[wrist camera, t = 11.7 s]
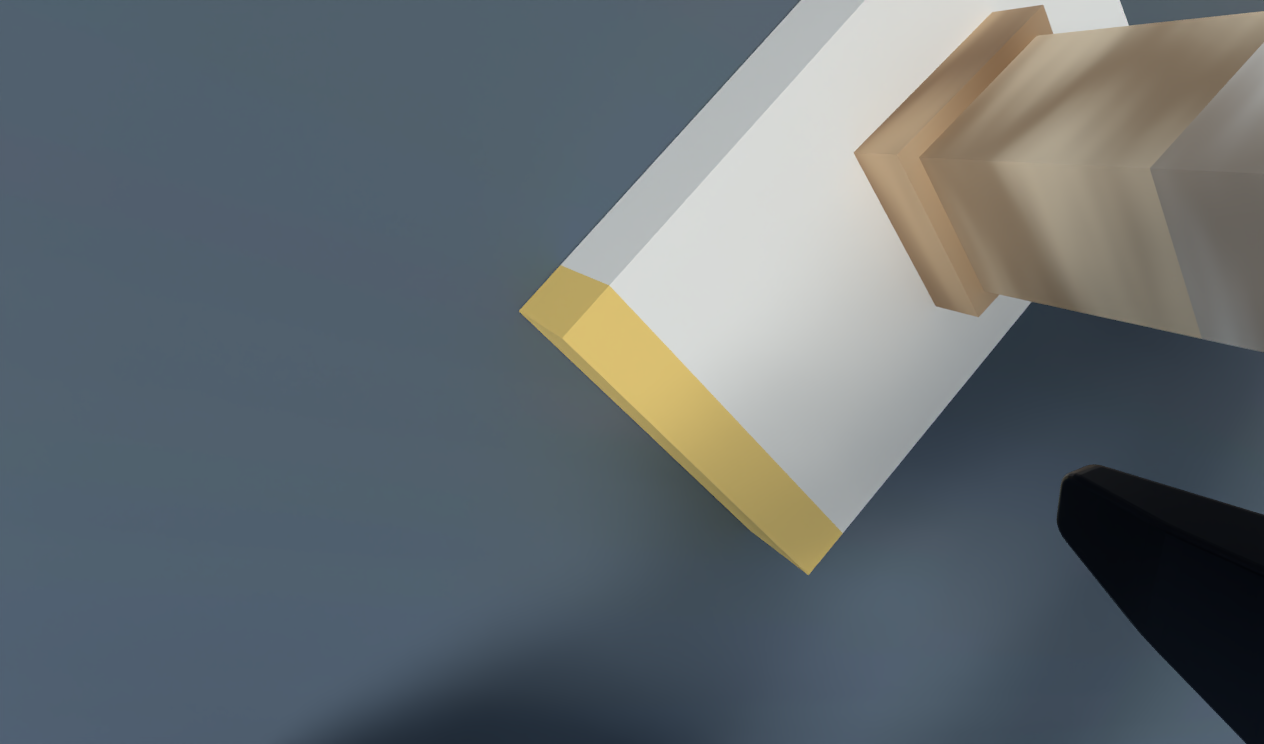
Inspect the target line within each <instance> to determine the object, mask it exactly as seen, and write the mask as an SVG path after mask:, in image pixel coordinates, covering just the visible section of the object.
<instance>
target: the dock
mask: <svg viewBox="0 0 1264 744" xmlns="http://www.w3.org/2000/svg"><path fill="white" fill-rule="evenodd" d="M1038 5H1044V8H1045V11H1046V14H1047V17H1048V20H1049V23H1050V25H1051V28H1052V31H1053V34H1057V33H1067V32H1076V31H1085V30H1095V29H1104V28H1113V27H1122V26H1129V25H1128V22H1127V20H1126V17H1125V14H1124V11H1123V8H1122V6H1121V3H1120V0H801V1H800V2H799V3H798V4H797V5H796V6H795V8H794V9H793V10H792V11H791V12H790V13H789V14H788V15H787V16H786V17H785V19H784V20H783V21H782V22H781V23H780V24H779V25H778V26H777V27H776V28H775V30H774V31H773V32H772V33H771V34H770V35H769V36H768V37H767V38H766V39H765V41H764V42H763V43H762V44H761V45H760V46H759V47H758V48H757V49H756V50H755V52H754V53H753V54H752V55H751V56H750V57H749V58H748V59H747V60H746V61H745V63H744V64H743V65H742V66H741V67H740V68H739V69H738V70H737V71H736V72H735V74H734V75H733V76H732V77H731V78H730V79H729V80H728V81H727V82H726V83H725V85H724V86H723V87H722V88H721V89H720V90H719V91H718V92H717V93H716V94H715V96H714V97H713V98H712V99H711V100H710V101H709V102H708V103H707V104H706V106H705V107H704V108H703V109H702V110H701V111H700V112H699V113H698V114H697V115H696V117H695V118H694V119H693V120H692V121H691V122H690V123H689V124H688V125H687V126H686V128H685V129H684V130H683V131H682V132H681V133H680V134H679V135H678V136H677V137H676V139H675V140H674V141H673V142H672V143H671V144H670V145H669V146H668V147H667V148H666V150H665V151H664V152H663V153H662V154H661V155H660V156H659V157H658V158H657V159H656V161H655V162H654V163H653V164H652V165H651V166H650V167H649V168H648V169H647V170H646V172H645V173H644V174H643V175H642V176H641V177H640V178H639V179H638V180H637V181H636V183H635V184H634V185H633V186H632V187H631V188H630V189H629V190H628V191H627V192H626V194H625V195H624V196H623V197H622V198H621V199H620V200H619V201H618V202H617V204H616V205H615V206H614V207H613V208H612V209H611V210H610V211H609V212H608V213H607V215H606V216H605V217H604V218H603V219H602V220H601V221H600V222H599V223H598V224H597V226H596V227H595V228H594V229H593V230H592V231H591V232H590V233H589V234H588V235H587V237H586V238H585V239H584V240H583V241H582V242H581V243H580V244H579V245H578V246H577V248H576V249H575V250H574V251H573V252H572V253H571V254H570V255H569V256H568V257H567V259H566V260H565V261H564V262H563V263H562V264H561V265H560V266H559V267H558V268H557V270H556V271H555V272H554V273H553V274H552V275H551V276H550V277H549V278H548V279H547V281H546V282H545V283H544V284H543V285H542V286H541V287H540V288H539V289H538V291H537V292H536V293H535V294H534V295H533V296H532V297H531V298H530V299H529V300H528V302H527V303H526V304H525V305H524V306H523V307H522V308H521V309H520V310H519V312H520V313H521V314H522V315H523V316H524V317H525V318H526V319H528V320H529V321H530V322H531V323H532V324H533V325H534V326H535V327H536V328H537V329H538V330H539V331H540V332H541V333H542V334H543V335H544V336H545V337H547V338H548V339H549V340H550V341H551V342H552V343H553V344H554V345H555V346H556V347H557V348H558V349H559V350H560V351H561V352H562V353H563V354H564V355H566V356H567V357H568V358H569V359H570V360H571V361H572V362H573V363H574V364H575V365H576V366H577V367H578V368H579V369H580V370H581V371H582V372H583V373H584V374H586V375H587V376H588V377H589V378H590V379H591V380H592V381H593V382H594V383H595V384H596V385H597V386H598V387H599V388H600V389H601V390H602V391H603V392H605V393H606V394H607V395H608V396H609V397H610V398H611V399H612V400H613V401H614V402H615V403H616V404H617V405H618V406H619V407H620V408H621V409H622V410H624V411H625V412H626V413H627V414H628V415H629V416H630V417H631V418H632V419H633V420H634V421H635V422H636V423H637V424H638V425H639V426H640V427H641V428H642V429H644V430H645V431H646V432H647V433H648V434H649V435H650V436H651V437H652V438H653V439H654V440H655V441H656V442H657V443H658V444H659V445H660V446H661V447H663V448H664V449H665V450H666V451H667V452H668V453H669V454H670V455H671V456H672V457H673V458H674V459H675V460H676V461H677V462H678V463H679V464H680V465H682V466H683V467H684V468H685V469H686V470H687V471H688V472H689V473H690V474H691V475H692V476H693V477H694V478H695V479H696V480H697V481H698V482H699V483H700V484H702V485H703V486H704V487H705V488H706V489H707V490H708V491H709V492H710V493H711V494H712V495H713V496H714V497H715V498H716V499H717V500H718V501H719V502H721V503H722V504H723V505H724V506H725V507H726V508H727V509H728V510H729V511H730V512H731V513H732V514H733V515H734V516H735V517H736V518H737V519H738V520H740V521H741V522H742V523H743V524H744V525H745V526H746V527H747V528H748V529H749V530H750V531H751V532H753V533H754V534H755V535H757V536H758V537H759V538H761V539H762V540H763V541H764V542H766V543H767V544H768V545H770V546H771V547H772V548H774V549H775V550H776V551H777V552H779V553H780V554H781V555H783V556H784V557H785V558H787V559H788V560H789V561H791V562H792V563H793V564H794V565H796V566H797V567H798V568H800V569H801V570H802V571H804V572H805V573H806V574H808V575H809V574H810V573H811V571H812V570H813V569H814V568H815V567H816V565H817V564H818V563H819V562H820V560H821V559H822V558H823V557H824V556H825V554H826V553H827V552H828V551H829V549H830V548H831V547H832V546H833V545H834V543H835V542H836V541H837V540H838V538H839V537H840V536H841V535H842V534H843V532H844V531H845V530H846V529H847V527H848V526H849V525H850V524H851V522H852V521H853V520H854V519H855V518H856V516H857V515H858V514H859V513H860V511H861V510H862V509H863V508H864V507H865V505H866V504H867V503H868V502H869V500H870V499H871V498H872V497H873V496H874V494H875V493H876V492H877V491H878V489H879V488H880V487H881V486H882V485H883V483H884V482H885V481H886V480H887V478H888V477H889V476H890V475H891V473H892V472H893V471H894V470H895V469H896V467H897V466H898V465H899V464H900V462H901V461H902V460H903V459H904V458H905V456H906V455H907V454H908V453H909V451H910V450H911V449H912V448H913V447H914V445H915V444H916V443H917V442H918V440H919V439H920V438H921V437H922V435H923V434H924V433H925V432H926V431H927V429H928V428H929V427H930V426H931V424H932V423H933V422H934V421H935V420H936V418H937V417H938V416H939V415H940V413H941V412H942V411H943V410H944V409H945V407H946V406H947V405H948V404H949V402H950V401H951V400H952V399H953V398H954V396H955V395H956V394H957V393H958V391H959V390H960V389H961V388H962V386H963V385H964V384H965V383H966V382H967V380H968V379H969V378H970V377H971V375H972V374H973V373H974V372H975V371H976V369H977V368H978V367H979V366H980V364H981V363H982V362H983V361H984V360H985V358H986V357H987V356H988V355H989V353H990V352H991V351H992V350H993V349H994V347H995V346H996V345H997V344H998V342H999V341H1000V340H1001V339H1002V337H1003V336H1004V335H1005V334H1006V333H1007V331H1008V330H1009V329H1010V328H1011V326H1012V325H1013V324H1014V323H1015V322H1016V320H1017V319H1018V318H1019V317H1020V315H1021V314H1022V313H1023V312H1024V311H1025V309H1026V308H1027V307H1028V306H1029V304H1030V303H1031V301H1026V300H1022V299H1017V298H1013V297H1008V296H1004V295H999V296H998V297H997V298H996V299H995V300H994V301H993V302H992V303H991V304H990V305H989V307H988V308H987V309H986V310H985V311H984V312H983V313H982V314H981V315H980V316H979V317H976V316H972V315H968V314H964V313H960V312H956V311H952V310H948V309H944V308H940V307H936V306H935V304H934V302H933V300H932V298H931V297H930V295H929V293H928V291H927V289H926V287H925V285H924V283H923V282H922V280H921V278H920V276H919V274H918V272H917V270H916V269H915V267H914V265H913V263H912V261H911V259H910V257H909V255H908V254H907V252H906V250H905V248H904V246H903V244H902V242H901V241H900V239H899V237H898V235H897V233H896V231H895V229H894V227H893V226H892V224H891V222H890V220H889V218H888V216H887V214H886V213H885V211H884V209H883V207H882V205H881V203H880V201H879V199H878V198H877V196H876V194H875V192H874V190H873V188H872V186H871V185H870V183H869V181H868V179H867V177H866V175H865V173H864V171H863V170H862V168H861V166H860V164H859V162H858V160H857V158H856V157H855V155H854V152H855V151H856V150H857V148H858V147H859V146H860V145H861V144H862V143H863V142H864V141H865V140H866V139H867V138H868V137H869V136H870V135H871V134H872V133H873V132H874V131H875V130H876V129H877V128H878V127H879V126H880V125H881V124H882V123H883V122H884V121H885V120H886V119H887V118H888V117H889V116H890V115H891V114H892V113H893V112H894V111H895V110H896V109H897V108H898V107H899V106H900V105H901V104H902V103H903V102H904V101H905V100H906V99H907V98H908V97H909V96H910V95H911V94H912V93H913V92H914V91H915V90H916V89H917V88H918V87H919V86H920V85H921V84H922V83H923V82H924V81H925V80H926V79H927V78H928V77H929V76H930V75H931V74H932V73H933V72H934V71H935V70H936V69H937V68H938V67H939V66H940V65H941V63H942V62H943V61H944V60H945V59H946V58H947V57H948V56H949V55H950V54H951V53H952V52H953V51H954V50H955V49H956V48H957V47H958V46H959V45H960V44H961V43H962V42H963V41H964V40H965V39H966V38H967V37H968V36H969V35H970V34H971V33H972V32H973V31H974V30H975V29H976V28H977V27H978V26H979V25H980V24H981V23H982V22H983V21H984V20H985V19H986V18H987V17H988V16H989V15H990V14H991V13H992V12H996V11H1003V10H1010V9H1017V8H1024V7H1031V6H1038Z"/></svg>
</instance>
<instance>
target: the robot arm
mask: <svg viewBox="0 0 1264 744" xmlns="http://www.w3.org/2000/svg"><path fill="white" fill-rule="evenodd" d="M1057 525H1058V528H1059V531H1060V533H1061V535H1062V537H1063V538H1064V539H1065V541H1066V542H1067V543H1068V545H1069V546H1070V547H1071V548H1072V550H1073V551H1074V552H1075V553H1076V555H1077V556H1078V557H1079V558H1080V560H1081V561H1082V562H1083V563H1084V565H1085V566H1086V567H1087V568H1088V570H1089V571H1090V572H1091V573H1092V575H1093V576H1094V577H1095V578H1096V579H1097V581H1098V582H1099V583H1100V584H1101V586H1102V587H1103V588H1104V589H1105V591H1106V592H1107V593H1108V594H1109V596H1110V597H1111V598H1112V599H1113V601H1114V602H1115V603H1116V604H1117V606H1118V607H1119V608H1120V609H1121V611H1122V612H1123V613H1124V614H1125V616H1126V617H1127V618H1128V619H1129V621H1130V622H1131V623H1132V624H1133V625H1134V626H1135V628H1136V629H1137V630H1138V631H1139V632H1140V634H1141V635H1142V636H1143V637H1144V638H1145V639H1146V640H1147V641H1148V642H1149V643H1150V644H1151V646H1152V647H1153V648H1154V649H1155V650H1156V651H1157V652H1158V653H1159V654H1160V655H1161V656H1162V657H1163V658H1164V659H1165V660H1166V661H1167V662H1168V663H1169V664H1170V665H1171V666H1172V667H1173V669H1174V670H1175V671H1176V672H1177V673H1178V674H1179V675H1180V676H1181V677H1182V678H1183V679H1184V680H1185V681H1186V682H1187V683H1188V684H1189V685H1190V686H1191V687H1192V688H1193V689H1194V690H1195V691H1196V692H1197V693H1198V694H1199V695H1200V696H1201V697H1202V698H1203V700H1204V701H1205V702H1206V703H1207V704H1208V705H1209V706H1210V707H1211V708H1212V709H1213V710H1214V711H1215V712H1216V713H1217V714H1218V715H1219V716H1220V717H1221V718H1222V719H1223V720H1224V721H1225V722H1226V723H1227V724H1228V725H1229V726H1230V727H1231V728H1232V729H1233V730H1234V732H1235V733H1236V734H1237V735H1238V736H1239V737H1240V738H1241V739H1242V740H1243V741H1244V742H1245V743H1246V744H1264V515H1263V514H1259V513H1256V512H1253V511H1250V510H1246V509H1243V508H1240V507H1236V506H1233V505H1230V504H1227V503H1223V502H1220V501H1217V500H1213V499H1210V498H1207V497H1203V496H1200V495H1197V494H1194V493H1190V492H1187V491H1184V490H1180V489H1177V488H1174V487H1171V486H1167V485H1164V484H1161V483H1157V482H1154V481H1151V480H1148V479H1144V478H1141V477H1138V476H1134V475H1131V474H1128V473H1125V472H1121V471H1118V470H1115V469H1111V468H1108V467H1105V466H1101V465H1088V466H1085V467H1082V468H1080V469H1077V470H1075V471H1073V472H1070V473H1068V474H1066V475H1065V476H1064V477H1063V479H1062V482H1061V487H1060V495H1059V503H1058V511H1057Z"/></svg>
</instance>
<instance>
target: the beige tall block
mask: <svg viewBox="0 0 1264 744" xmlns="http://www.w3.org/2000/svg"><path fill="white" fill-rule="evenodd" d="M854 155H855V157H856V158H857V160H858V162H859V164H860V166H861V168H862V170H863V171H864V173H865V175H866V177H867V179H868V181H869V183H870V185H871V186H872V188H873V190H874V192H875V194H876V196H877V198H878V199H879V201H880V203H881V205H882V207H883V209H884V211H885V213H886V214H887V216H888V218H889V220H890V222H891V224H892V226H893V227H894V229H895V231H896V233H897V235H898V237H899V239H900V241H901V242H902V244H903V246H904V248H905V250H906V252H907V254H908V255H909V257H910V259H911V261H912V263H913V265H914V267H915V269H916V270H917V272H918V274H919V276H920V278H921V280H922V282H923V283H924V285H925V287H926V289H927V291H928V293H929V295H930V297H931V298H932V300H933V302H934V304H935V306H936V307H940V308H944V309H948V310H952V311H956V312H960V313H964V314H968V315H972V316H976V317H979V316H980V315H981V314H982V313H983V312H984V311H985V310H986V309H987V308H988V307H989V305H990V304H991V303H992V302H993V301H994V300H995V299H996V298H997V297H998V296H999V295H1004V296H1008V297H1013V298H1017V299H1022V300H1026V301H1031V302H1036V303H1040V304H1045V305H1049V306H1054V307H1058V308H1063V309H1067V310H1072V311H1077V312H1081V313H1086V314H1090V315H1095V316H1099V317H1104V318H1109V319H1113V320H1118V321H1122V322H1127V323H1131V324H1136V325H1141V326H1145V327H1150V328H1154V329H1159V330H1163V331H1168V332H1173V333H1177V334H1182V335H1186V336H1191V337H1195V338H1200V339H1205V340H1209V341H1214V342H1218V343H1223V344H1227V345H1232V346H1237V347H1241V348H1246V349H1250V350H1255V351H1259V352H1264V11H1262V12H1252V13H1243V14H1234V15H1225V16H1215V17H1206V18H1197V19H1187V20H1178V21H1169V22H1160V23H1150V24H1141V25H1132V26H1122V27H1113V28H1104V29H1095V30H1085V31H1076V32H1067V33H1057V34H1053V31H1052V28H1051V25H1050V23H1049V20H1048V17H1047V14H1046V11H1045V8H1044V5H1038V6H1031V7H1024V8H1017V9H1010V10H1003V11H996V12H992V13H991V14H990V15H989V16H988V17H987V18H986V19H985V20H984V21H983V22H982V23H981V24H980V25H979V26H978V27H977V28H976V29H975V30H974V31H973V32H972V33H971V34H970V35H969V36H968V37H967V38H966V39H965V40H964V41H963V42H962V43H961V44H960V45H959V46H958V47H957V48H956V49H955V50H954V51H953V52H952V53H951V54H950V55H949V56H948V57H947V58H946V59H945V60H944V61H943V62H942V63H941V65H940V66H939V67H938V68H937V69H936V70H935V71H934V72H933V73H932V74H931V75H930V76H929V77H928V78H927V79H926V80H925V81H924V82H923V83H922V84H921V85H920V86H919V87H918V88H917V89H916V90H915V91H914V92H913V93H912V94H911V95H910V96H909V97H908V98H907V99H906V100H905V101H904V102H903V103H902V104H901V105H900V106H899V107H898V108H897V109H896V110H895V111H894V112H893V113H892V114H891V115H890V116H889V117H888V118H887V119H886V120H885V121H884V122H883V123H882V124H881V125H880V126H879V127H878V128H877V129H876V130H875V131H874V132H873V133H872V134H871V135H870V136H869V137H868V138H867V139H866V140H865V141H864V142H863V143H862V144H861V145H860V146H859V147H858V148H857V150H856V151H855V152H854Z"/></svg>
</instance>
